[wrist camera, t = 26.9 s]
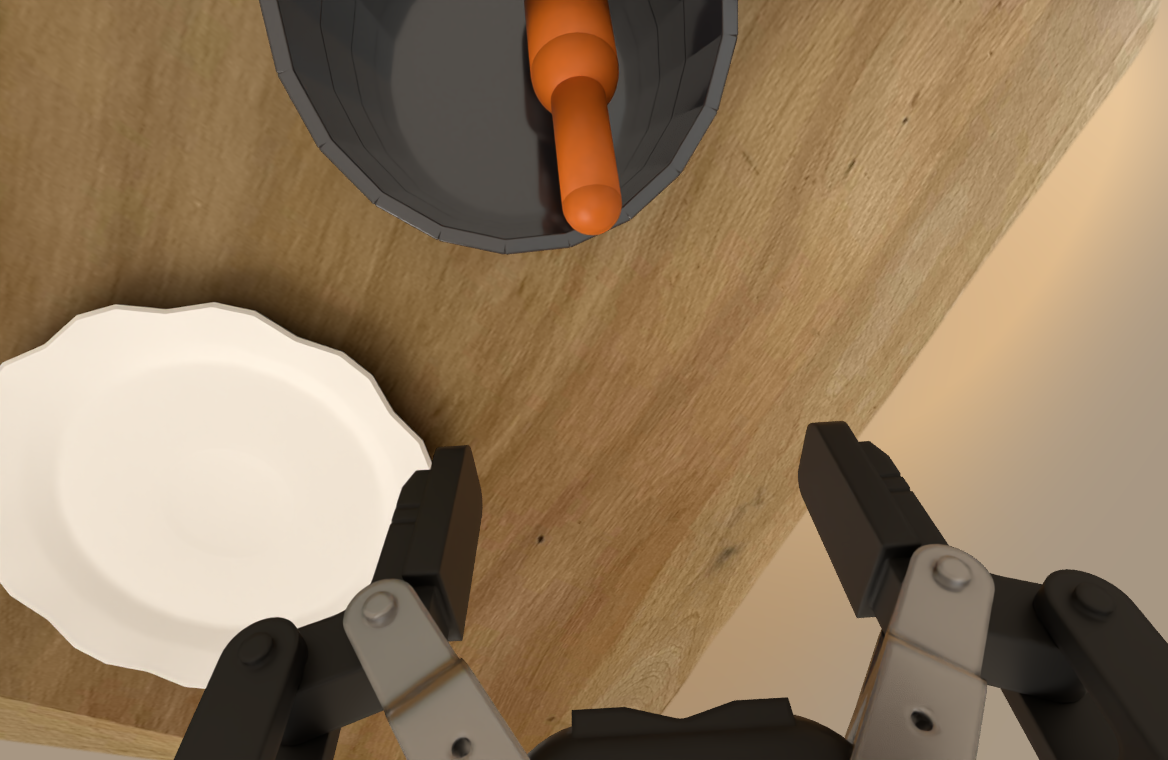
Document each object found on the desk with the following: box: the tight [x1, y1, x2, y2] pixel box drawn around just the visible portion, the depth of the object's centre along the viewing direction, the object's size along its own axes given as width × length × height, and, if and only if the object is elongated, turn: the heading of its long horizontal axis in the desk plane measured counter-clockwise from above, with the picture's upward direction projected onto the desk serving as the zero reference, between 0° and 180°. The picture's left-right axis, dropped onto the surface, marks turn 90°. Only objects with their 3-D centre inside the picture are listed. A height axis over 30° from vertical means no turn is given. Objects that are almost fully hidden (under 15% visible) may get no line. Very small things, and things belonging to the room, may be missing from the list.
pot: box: [259, 0, 738, 255], centre depth 24 cm, size 16×16×10 cm
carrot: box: [524, 0, 622, 235], centre depth 24 cm, size 4×16×4 cm
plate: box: [0, 302, 432, 689], centre depth 34 cm, size 25×25×2 cm
